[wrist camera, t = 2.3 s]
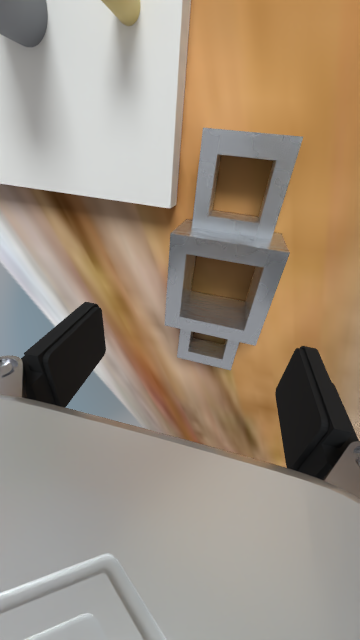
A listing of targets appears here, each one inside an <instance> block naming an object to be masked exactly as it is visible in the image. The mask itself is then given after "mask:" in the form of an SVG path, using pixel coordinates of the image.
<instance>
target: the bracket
mask: <svg viewBox="0 0 360 640" xmlns="http://www.w3.org/2000/svg"><path fill="white" fill-rule="evenodd" d="M302 139H303V137H299V136H288V135H277V134H266V133H255V132H244V131H233V130H222V129H211V128H203V134H202V143H201V151H200V160H199V169H198V178H197V187H196V196H195V204H194V213H193V220H189V219H186V220H185V221H184V222H183V223H182V224H181V225H179V226H178V227H177V228H176V229H175V230H174V231H173V232H172V233H171V235H170V251H169V267H168V282H167V298H166V314H165V325H166V326H170V327H175V328H179V329H180V336H179V345H178V354H177V357H178V358H182V359H186V360H190V361H194V362H199V363H203V364H207V365H211V366H215V367H219V368H223V369H227V370H231V367H232V364H233V361H234V357H235V354H236V351H237V348H238V345H239V342H242V343H246V344H251V345H255V346H256V343H257V340H258V338H259V335H260V332H261V329H262V327H263V324H264V321H265V319H266V316H267V313H268V310H269V308H270V305H271V302H272V300H273V297H274V294H275V291H276V289H277V286H278V283H279V281H280V278H281V275H282V272H283V270H284V267H285V264H286V262H287V259H288V256H289V254H290V252H289V250H288V248H287V245H286V243H285V241H284V238H283V236H282V234H281V233H274V229H275V226H276V223H277V219H278V216H279V213H280V210H281V207H282V203H283V200H284V197H285V194H286V191H287V187H288V184H289V181H290V178H291V174H292V171H293V168H294V165H295V162H296V158H297V155H298V152H299V149H300V146H301V142H302ZM221 155H226V156H236V157H245V158H254V159H264V160H273V164H272V168H271V172H270V175H269V179H268V183H267V187H266V191H265V194H264V198H263V202H262V206H261V209H260V213H259V217H257V216H250V215H243V214H236V213H229V212H222V211H215V210H213V204H214V198H215V192H216V185H217V179H218V172H219V166H220V160H221ZM196 256H201V257H206V258H212V259H218V260H224V261H229V262H235V263H241V264H246V265H252V266H256V267H255V270H254V274H253V277H252V280H251V284H250V287H249V291H248V294H247V298H246V301H241V300H236V299H231V298H226V297H221V296H216V295H211V294H206V293H201V292H195V291H191V290H192V282H193V275H194V267H195V260H196ZM193 332H197V333H202V334H206V335H211V336H215V337H219V338H224V339H226V341H225V345H223V344H219V343H215V342H210V341H206V340H202V339H197V338H193Z"/></svg>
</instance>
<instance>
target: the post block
mask: <svg viewBox="0 0 360 640" xmlns="http://www.w3.org/2000/svg"><path fill="white" fill-rule="evenodd" d="M190 9H191V0H0V184H6V185H13V186H20V187H27V188H34V189H40V190H47V191H54V192H61V193H68V194H75V195H81V196H88V197H95V198H102V199H109V200H116V201H122V202H129V203H136V204H143V205H150V206H157V207H163V208H172V207H174V206H175V205H176V202H177V188H178V174H179V161H180V147H181V133H182V119H183V105H184V92H185V78H186V64H187V50H188V36H189V23H190Z"/></svg>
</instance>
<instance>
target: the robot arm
mask: <svg viewBox="0 0 360 640" xmlns="http://www.w3.org/2000/svg"><path fill="white" fill-rule="evenodd" d="M105 351H106V347H105V337H104V328H103V318H102V310H101V308H99V306H98V305H97V304H94V303H89V302H85V303H83V304H82V305H81V306H80V307H78V308H77V309H76V310H75V311H74V312H72V313H71V314H70V315H69V316H68V317H66V318H65V319H64V320H63V321H62V322H61V323H59V324H58V325H57V326H56V327H55V328H53V329H52V330H51V331H50V332H49V333H47V335H45V336H44V337H43V338H42V339H40V340H39V341H38V342H37V343H36V344H35V345H33V346H32V347H31V348H30V349H28V350H27V351H26V352H25V353H24V354H25V356H24V357H23V358H21V359H20V358H19V357H16V356H2V357H0V640H360V441H359V440H358V438H357V436H356V433H355V431H354V429H353V426H352V424H351V422H350V420H349V417H348V415H347V413H346V410H345V408H344V406H343V404H342V401H341V399H340V397H339V394H338V392H337V390H336V388H335V386H334V384H333V383H332V382H331V380H330V378H329V376H328V373H327V371H326V369H325V366H324V364H323V362H322V359H321V357H320V355H319V352H318V350H317V349H315V348H310V347H305V346H302V347H300V349H299V348H296V350H295V351H294V353H293V355H292V357H291V359H290V362H289V364H288V366H287V368H286V370H285V372H284V374H283V376H282V378H281V380H280V382H279V384H278V386H277V388H276V402H277V408H278V415H279V421H280V427H281V434H282V440H283V447H284V453H285V460H286V466H287V468H285V467H281V466H278V465H274V464H271V463H268V462H264V461H261V460H257V459H254V458H250V457H247V456H243V455H239V454H236V453H232V452H228V451H225V450H221V449H218V448H214V447H210V446H207V445H203V444H199V443H196V442H192V441H188V440H185V439H181V438H177V437H174V436H170V435H166V434H163V433H159V432H155V431H151V430H148V429H144V428H140V427H136V426H133V425H129V424H125V423H121V422H118V421H114V420H110V419H106V418H103V417H99V416H95V415H91V414H87V413H83V412H79V411H76V410H72V409H68V408H65V407H66V406H67V405H68V403H69V402H70V400H71V399H72V398H73V396H74V395H75V394H76V392H77V391H78V390H79V388H80V387H81V386H82V384H83V383H84V382H85V380H86V379H87V377H88V376H89V375H90V374H91V372H92V371H93V369H94V368H95V367H96V365H97V364H98V363H99V361H100V360H101V359H102V357H103V356H104V354H105Z"/></svg>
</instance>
